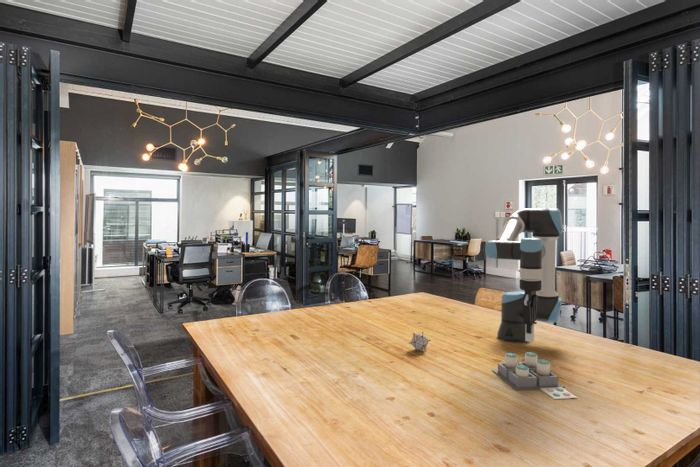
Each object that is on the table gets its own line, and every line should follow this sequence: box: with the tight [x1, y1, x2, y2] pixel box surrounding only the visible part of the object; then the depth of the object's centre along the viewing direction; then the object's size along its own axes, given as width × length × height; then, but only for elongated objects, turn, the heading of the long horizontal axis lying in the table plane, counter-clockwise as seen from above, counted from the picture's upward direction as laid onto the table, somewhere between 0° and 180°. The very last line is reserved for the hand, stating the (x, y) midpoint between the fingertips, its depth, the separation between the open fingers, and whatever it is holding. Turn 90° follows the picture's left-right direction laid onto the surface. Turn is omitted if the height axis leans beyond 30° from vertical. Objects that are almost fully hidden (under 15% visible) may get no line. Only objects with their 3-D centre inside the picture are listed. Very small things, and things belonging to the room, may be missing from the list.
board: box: [492, 361, 566, 391], centre depth 149 cm, size 18×18×4 cm
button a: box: [516, 365, 529, 377], centre depth 145 cm, size 4×4×5 cm
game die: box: [408, 331, 431, 353], centre depth 181 cm, size 9×8×10 cm
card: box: [539, 387, 578, 400], centre depth 137 cm, size 8×8×1 cm
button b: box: [504, 352, 518, 369], centre depth 153 cm, size 4×4×5 cm
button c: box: [536, 358, 551, 376], centre depth 145 cm, size 4×4×5 cm
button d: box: [524, 351, 538, 368], centre depth 153 cm, size 4×4×5 cm
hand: (529, 341), depth 152 cm, fingers closed
